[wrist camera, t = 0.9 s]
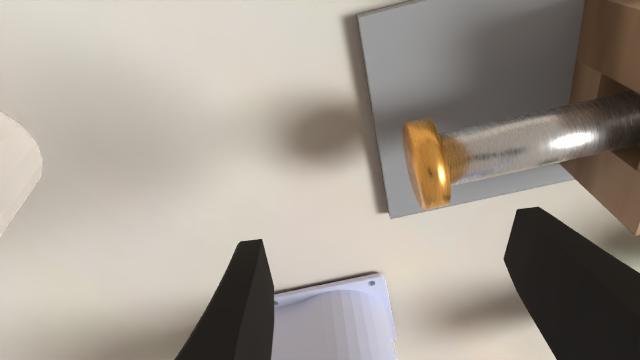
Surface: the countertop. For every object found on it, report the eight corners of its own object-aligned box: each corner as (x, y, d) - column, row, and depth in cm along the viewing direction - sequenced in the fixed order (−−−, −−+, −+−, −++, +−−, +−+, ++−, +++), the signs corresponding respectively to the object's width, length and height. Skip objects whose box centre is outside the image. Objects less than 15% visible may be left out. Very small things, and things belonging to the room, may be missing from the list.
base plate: (388, 212, 25) (390, 219, 24) (356, 14, 18) (358, 17, 17) (670, 151, 23) (678, 156, 23) (752, -86, 17) (766, -86, 16)
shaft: (406, 177, 21) (429, 228, 17) (398, 108, 18) (423, 152, 15) (603, 133, 20) (665, 178, 17) (620, 56, 18) (696, 90, 14)
